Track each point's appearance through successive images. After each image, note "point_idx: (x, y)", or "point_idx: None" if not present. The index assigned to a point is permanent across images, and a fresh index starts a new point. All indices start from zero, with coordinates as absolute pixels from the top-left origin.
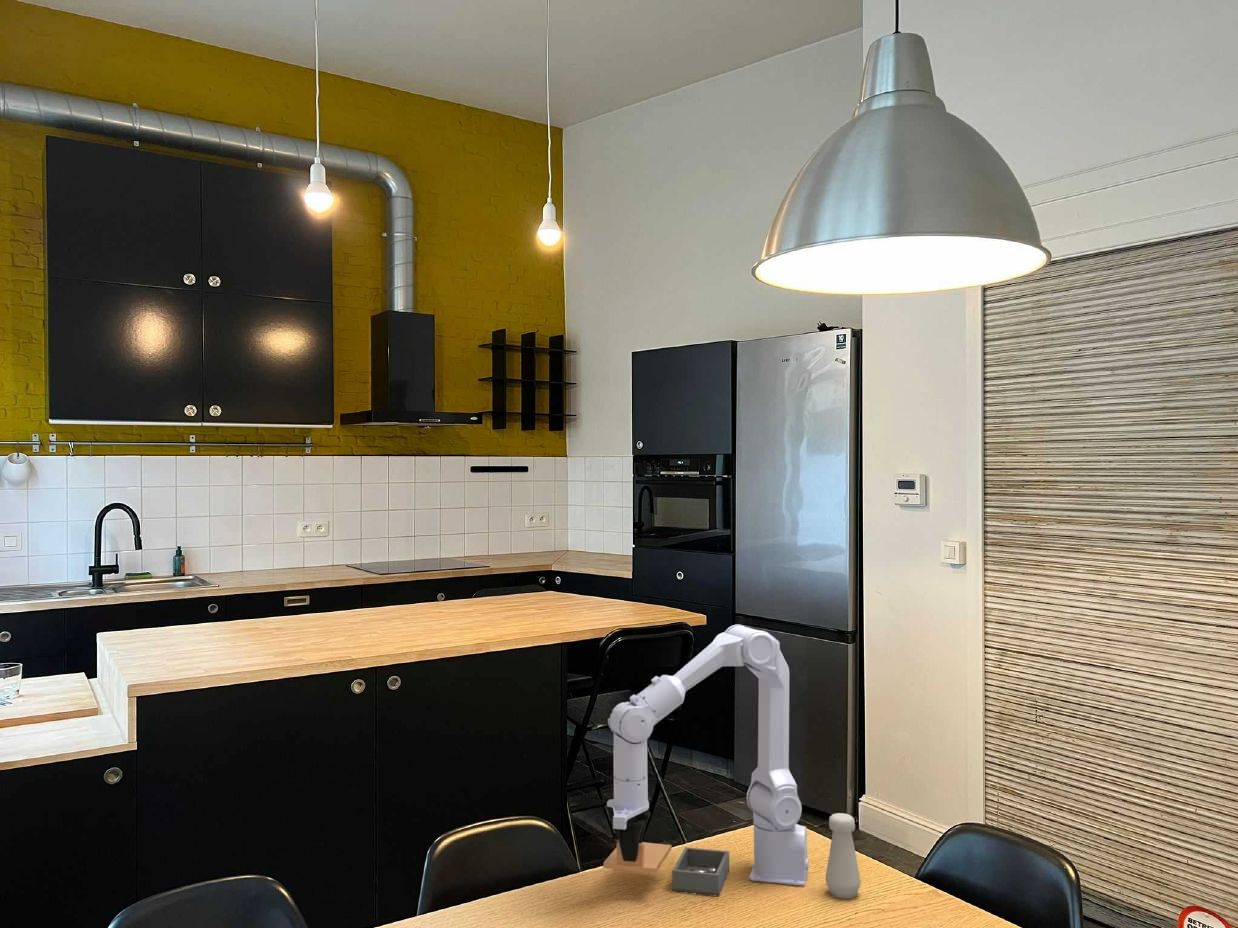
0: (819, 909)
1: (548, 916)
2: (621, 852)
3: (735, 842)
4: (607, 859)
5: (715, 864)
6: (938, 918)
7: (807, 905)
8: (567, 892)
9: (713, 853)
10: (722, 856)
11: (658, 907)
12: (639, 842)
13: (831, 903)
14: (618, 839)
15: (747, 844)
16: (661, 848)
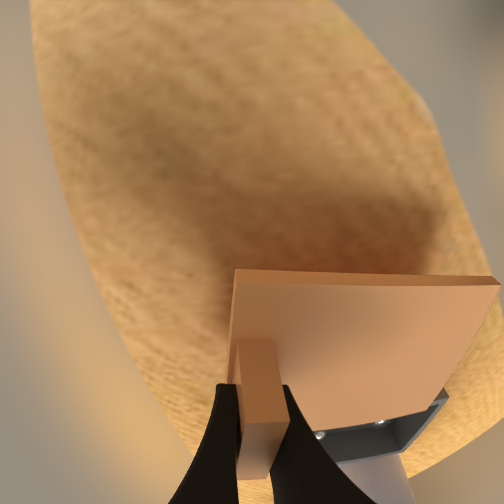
0: (250, 494)
1: (49, 77)
2: (214, 408)
3: (491, 391)
4: (291, 289)
5: (401, 418)
6: None
7: (260, 489)
8: (252, 71)
9: (410, 433)
10: (400, 440)
11: (196, 364)
12: (270, 471)
13: (270, 497)
14: (190, 467)
15: (478, 405)
16: (407, 403)
